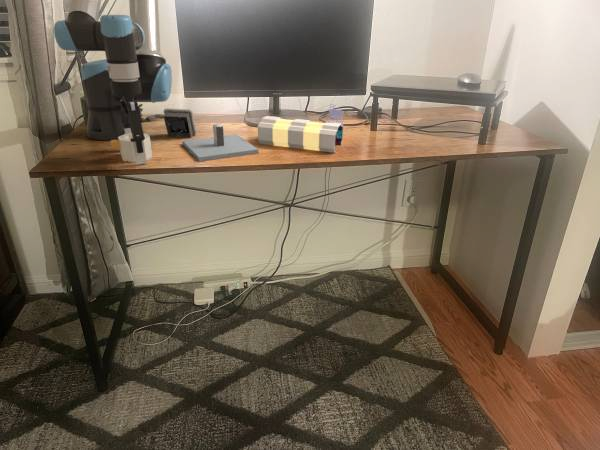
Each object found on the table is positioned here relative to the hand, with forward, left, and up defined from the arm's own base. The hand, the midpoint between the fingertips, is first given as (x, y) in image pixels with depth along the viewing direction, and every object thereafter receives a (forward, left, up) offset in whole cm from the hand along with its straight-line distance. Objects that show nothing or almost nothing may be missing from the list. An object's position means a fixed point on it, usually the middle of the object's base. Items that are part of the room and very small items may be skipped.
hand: (136, 156), depth 127 cm
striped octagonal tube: (+8, +49, -1) cm, 50 cm away
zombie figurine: (-42, +13, -1) cm, 43 cm away
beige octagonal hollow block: (0, -1, 0) cm, 1 cm away
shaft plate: (+2, +24, 0) cm, 24 cm away
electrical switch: (-16, +17, 0) cm, 23 cm away
